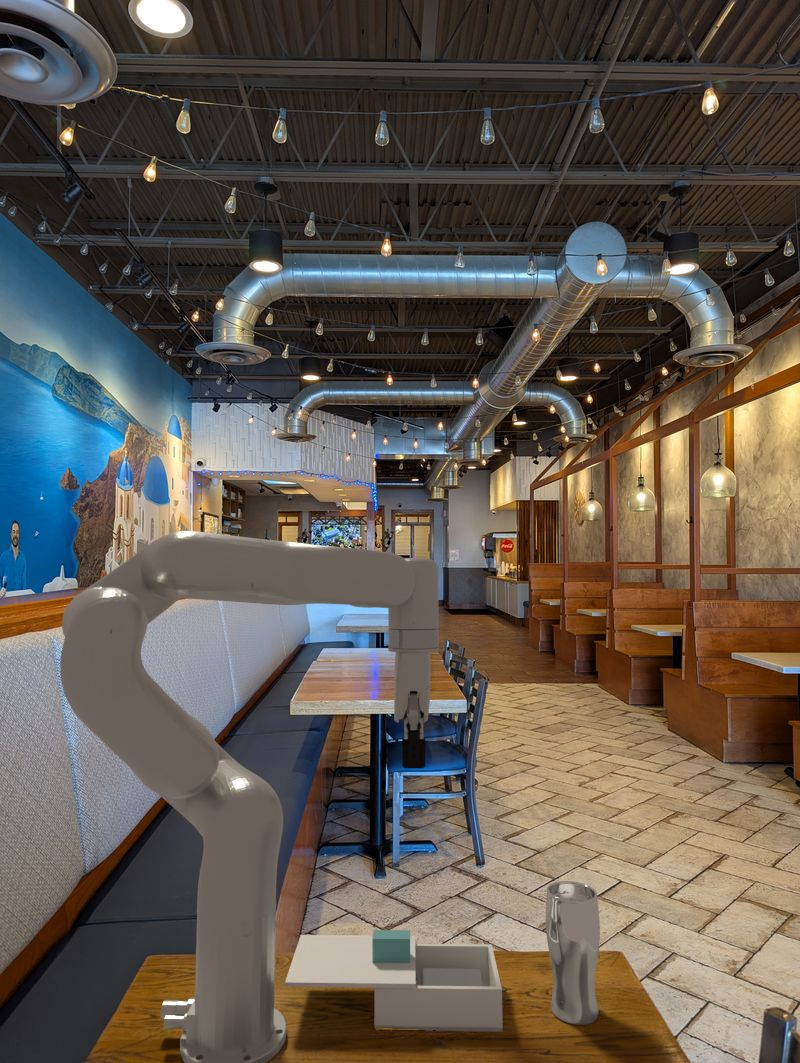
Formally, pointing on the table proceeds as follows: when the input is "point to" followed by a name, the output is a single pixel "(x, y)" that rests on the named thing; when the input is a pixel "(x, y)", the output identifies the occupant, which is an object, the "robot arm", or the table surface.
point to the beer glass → (573, 950)
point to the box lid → (354, 961)
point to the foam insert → (450, 977)
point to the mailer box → (445, 994)
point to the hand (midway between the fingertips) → (413, 759)
